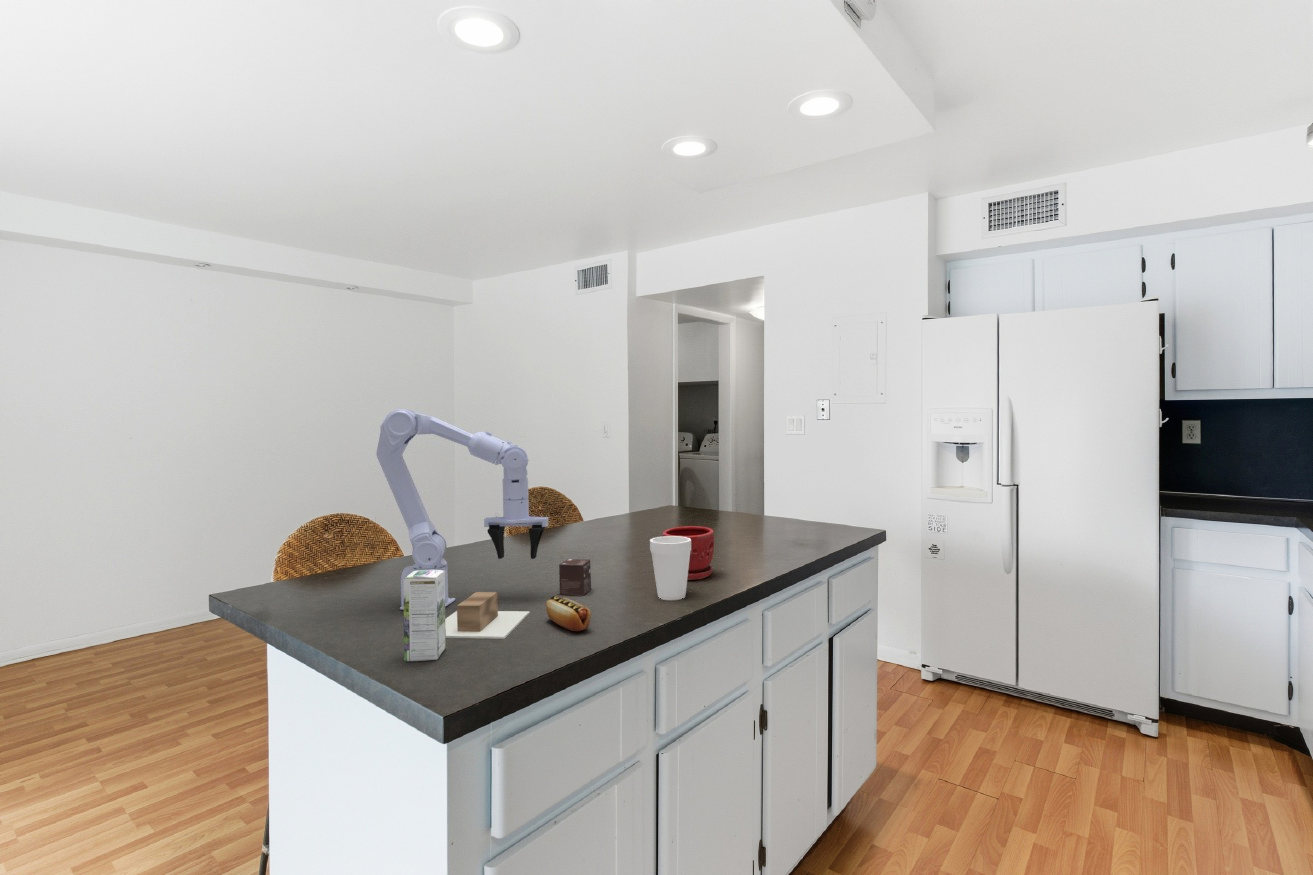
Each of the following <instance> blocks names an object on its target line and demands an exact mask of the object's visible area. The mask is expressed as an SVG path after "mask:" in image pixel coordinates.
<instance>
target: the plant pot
mask: <svg viewBox="0 0 1313 875" xmlns="http://www.w3.org/2000/svg"><path fill="white" fill-rule="evenodd" d="M664 536H681V537H687V538H690V539H691V551H690V559H689V568H688V578H687V581H693V580H695V581H696V580H703V579H704V578H708V577H709V576H710V575H711V574H712V573H713V567H712V566H710V565H711V563H712V560H713V556H714V550H715V532H714V530H713V529H712V528H710V527H706V526H695V525H693V526H691V525H690V526H688V525H687V526H676V527H671V528H668V529H666V530H664V531H663V532H662V537H664Z"/></svg>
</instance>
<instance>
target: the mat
mask: <svg viewBox="0 0 1313 875" xmlns="http://www.w3.org/2000/svg"><path fill="white" fill-rule="evenodd" d="M530 613H531V611H528V610H527V611H525V610H524V611H522V610H521V611H518V610H516V611H515V610H510V611H509V610H504V611H503V610H498V616H497V617H496V618H495V619H494V620H493V621H492V622H491V623H489V624H488V625H487V626H486V627H485V628H484V629H483V630H482V631H480V632H461V631H458V629H457V610H455V611H454V612H453V613H452V614H450V615H449V616H447V617H445V628H446V639H482V640H483V639H488V640H489V639H491V640H492V639H494V640H496V639H497V640H499V639H501V640H504V639H506V638H507V637H508V636H509V635H510V634H511V633H512V632H513V631H514V630H515V629H516V628H517V627H518V626H519V625H520V624H521V622H523V621H524V620H525V619H526V618H527V616H529V615H530Z"/></svg>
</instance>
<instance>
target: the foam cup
mask: <svg viewBox="0 0 1313 875" xmlns="http://www.w3.org/2000/svg"><path fill="white" fill-rule="evenodd" d="M649 550H650V553H651V557H652V558H651V560H652V566H653V567H652V568H653V571H654V580H655V585H656V593H657V594H656V595H657V598H658V597H659V598H658V599H660V598H661V599H660V600H664V601H678V600H682V598H683V599H684V598H686V594H687V584H688V580H687V578H688V568H689V559H690V551H691V539H690V538H687V537H681V536H664V537H663V536H657V537H656V536H655V537H652V538H650V539H649Z"/></svg>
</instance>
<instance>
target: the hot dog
mask: <svg viewBox="0 0 1313 875" xmlns="http://www.w3.org/2000/svg"><path fill="white" fill-rule="evenodd" d="M545 610H546V613H547V616H548V618H549V619H551V621H552V622H554V623H555V624H556V625H558V626H560V627H562V628H564V629H566V630H570V631H572V632H581V631H583V630H586V629H588V627H589V626H590V622H591V617H592V616H591V615H592V613H591V610H590V609H589V608H588V607H587V606H585V605H583V604H581V603H579V602H578V601H575V600H573V599H570V598H568V597H565V596H562V597H559V596H558V595H553V596H552V597H550V599H548V600H546V603H545Z"/></svg>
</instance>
